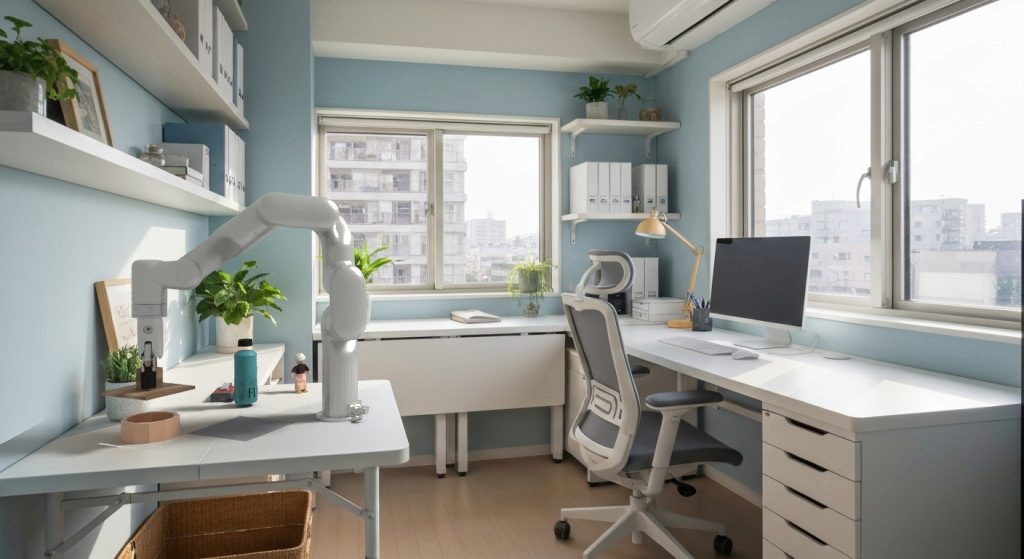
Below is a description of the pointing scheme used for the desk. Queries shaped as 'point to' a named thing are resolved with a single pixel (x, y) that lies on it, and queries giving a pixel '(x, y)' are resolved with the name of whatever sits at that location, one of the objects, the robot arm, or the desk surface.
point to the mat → (241, 428)
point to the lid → (148, 394)
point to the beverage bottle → (245, 374)
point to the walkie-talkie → (223, 393)
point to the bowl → (150, 427)
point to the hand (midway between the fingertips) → (149, 385)
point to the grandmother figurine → (300, 374)
